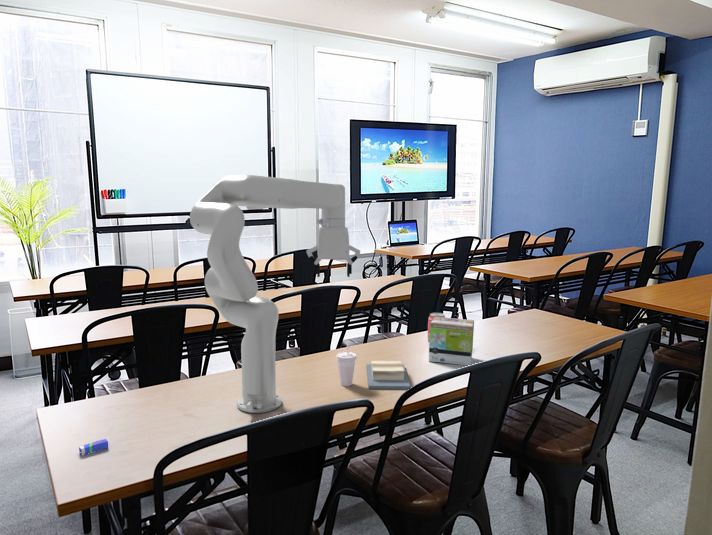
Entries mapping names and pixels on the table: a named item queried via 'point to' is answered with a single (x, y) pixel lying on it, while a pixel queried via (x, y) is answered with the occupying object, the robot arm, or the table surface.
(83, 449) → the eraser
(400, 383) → the board
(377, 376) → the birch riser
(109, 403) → the table surface
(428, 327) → the soda can
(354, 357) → the smoothie
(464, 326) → the tea box
